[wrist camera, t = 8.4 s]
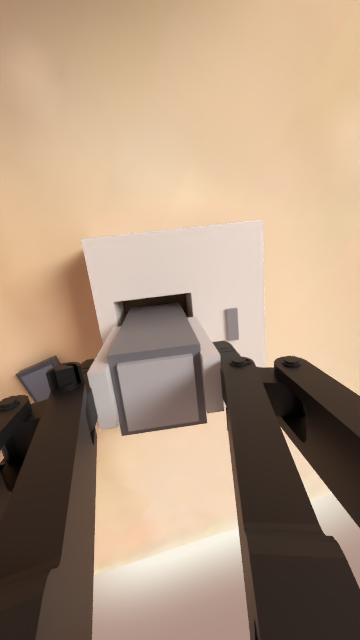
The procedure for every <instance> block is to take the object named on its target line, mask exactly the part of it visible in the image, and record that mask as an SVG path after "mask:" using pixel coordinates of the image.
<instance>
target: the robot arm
mask: <svg viewBox="0 0 360 640" xmlns="http://www.w3.org/2000/svg"><path fill="white" fill-rule="evenodd" d="M187 319H188V321H189V323H190V325H191V327H192V329H193V331H194V333H195V335H196V337H197V339H198V341H199V343H200V348H201V351H200V358H201V369H202V379H203V390H204V400H205V407H206V410H207V413H213V412H220V411H224V403H225V405H226V416H227V430H228V434H229V443H230V453H231V462H232V471H233V480H234V489H235V499H236V508H237V517H238V526H239V536H240V545H241V554H242V563H243V572H244V582H245V591H246V600H247V609H248V618H249V629H250V639H251V640H360V589H359V586H358V584H357V582H356V580H355V577H354V575H353V573H352V571H351V568H350V566H349V564H348V561H347V560H346V557H345V555H344V553H343V551H342V550H341V548H340V546H339V544H338V542H337V541H336V540H335V539H334V537H333V536H326V535H325V534H324V533H323V531H322V529H321V527H320V525H319V523H318V520H317V518H316V515H315V513H314V510H313V508H312V505H311V503H310V500H309V498H308V495H307V493H306V490H305V488H304V485H303V483H302V480H301V478H300V475H299V473H298V470H297V468H296V465H295V463H294V460H293V458H292V455H291V453H290V450H289V448H288V445H287V443H286V440H285V438H284V435H283V433H282V430H281V428H282V429H283V430H284V432H285V433H286V434H287V435H288V437H289V438H290V439H291V441H292V442H293V443H294V444H295V446H296V447H297V448H298V450H299V451H300V452H301V453H302V455H303V456H304V457H305V459H306V460H307V461H308V462H309V464H310V465H311V466H312V468H313V469H314V470H315V471H316V473H317V474H318V475H319V477H320V478H321V479H322V480H323V482H324V483H325V484H326V485H327V487H328V488H329V489H330V491H331V492H332V493H333V494H334V496H335V497H336V498H337V500H338V501H339V502H340V503H341V505H342V506H343V507H344V509H345V510H346V511H347V512H348V514H349V515H350V516H351V518H352V519H353V520H354V521H355V523H356V524H357V525H358V526H359V527H360V396H359V395H357V394H356V393H354V392H353V391H351V390H350V389H348V388H347V387H345V386H344V385H342V384H341V383H339V382H338V381H336V380H335V379H333V378H332V377H330V376H329V375H327V374H326V373H324V372H323V371H321V370H320V369H318V368H317V367H315V366H314V365H312V364H311V363H309V362H308V361H306V360H304V359H302V358H298V357H295V356H292V357H291V356H287V357H280V358H277V359H276V360H275V361H274V368H264V367H256V365H255V363H254V361H253V360H252V359H250V358H247V357H241V356H240V354H239V353H238V352H237V351H236V350H235V348H233V346H232V345H231V344H230V343H229V342H226V341H217V342H212V341H211V339H210V338H209V336H208V335H207V333H206V331H205V330H204V328H203V327H202V325H201V324H200V322H199V320H198V319H197V317H188V318H187ZM120 328H121V326H118V327H113V328H112V330H111V332H110V334H109V335H108V337H107V339H106V341H105V342H104V344H103V346H102V348H101V349H100V351H99V353H98V355H97V356H96V358H95V359H90V360H86V361H84V362H83V363H82V364H80V363H77V362H69V363H64V364H60V365H57V366H55V367H53V368H51V369H49V370H48V371H47V372H46V376H47V380H48V383H49V387H50V391H51V392H50V394H49V397H48V399H46V400H43V401H39V402H36V403H33V404H30V401H29V398H28V396H25V395H18V396H11V397H9V398H5V399H3V400H2V401H0V450H2V453H3V456H4V459H3V460H2V461H1V463H0V640H92V612H93V574H94V535H95V496H96V457H97V434H96V429H95V424H96V422H97V420H98V424H99V428H100V430H103V429H109V428H116V427H118V422H119V415H118V410H117V405H116V400H115V395H114V389H113V384H112V379H111V374H110V369H109V364H108V360H107V354H108V352H109V350H110V348H111V346H112V344H113V342H114V340H115V338H116V336H117V334H118V332H119V330H120ZM223 400H224V402H223ZM280 427H281V428H280Z"/></svg>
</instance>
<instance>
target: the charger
mask: <svg viewBox="0 0 360 640" xmlns="http://www.w3.org/2000/svg"><path fill="white" fill-rule="evenodd" d="M200 351H201V348H200V343H199V341H198V339H197V337H196V335H195V333H194V331H193V329H192V327H191V325H190V323H189V321H188V319H187V317H186V315H185V313H184V311H183V309H182V307H181V305H180V303H171V304H162V305H154V306H145V307H137V308H130V310H129V312H128V314H127V316H126V318H125V320H124V322H123V324H122V326H121V328H120V330H119V332H118V334H117V336H116V338H115V340H114V342H113V344H112V346H111V348H110V350H109V352H108V354H107V360H108V364H109V369H110V374H111V379H112V384H113V389H114V395H115V400H116V405H117V410H118V415H119V423H120V428H121V433H122V436H125V435H131V434H138V433H144V432H151V431H158V430H164V429H171V428H177V427H184V426H191V425H197V424H204V423H207V417H206V407H205V400H204V390H203V379H202V369H201V358H200Z"/></svg>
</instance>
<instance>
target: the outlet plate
mask: <svg viewBox="0 0 360 640" xmlns="http://www.w3.org/2000/svg"><path fill="white" fill-rule="evenodd" d="M81 241H82V246H83V251H84V256H85V261H86V266H87V270H88V275H89V280H90V285H91V290H92V295H93V300H94V305H95V310H96V315H97V319H98V324H99V329H100V334H101V339H102V344H104V342H105V341H106V339H107V337H108V335H109V334H110V332H111V330H112V328H113V327H118V326H122V324H123V322H124V320H125V312H124V306H123V301H126V300H134V299H142V298H150V297H159V296H167V295H175V294H183V293H186V303H187V312H188V317H197V319H198V320H199V322H200V324H201V325H202V327H203V328H204V330H205V331H206V333H207V335H208V336H209V338H210V339H211V341H212V342H217V341H226V342H229V343H230V344H231V345H232V346H233V348H235V350H236V351H237V352H238V353H239V354H240V356H241V357H247V358H250V359H252V360H253V361H254V363H255V365H256V367H264V368H266V352H265V293H264V234H263V219H262V220H253V221H243V222H234V223H225V224H215V225H206V226H196V227H187V228H178V229H168V230H159V231H150V232H140V233H131V234H121V235H112V236H103V237H93V238H84V239H81ZM223 402H224V400H223ZM224 408H226V405H225V403H224ZM206 411H207V410H206ZM119 424H120V423H119Z"/></svg>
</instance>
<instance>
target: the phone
mask: <svg viewBox="0 0 360 640" xmlns="http://www.w3.org/2000/svg"><path fill="white" fill-rule="evenodd" d="M60 364H61V363H60V362H59V360H58V358H57V357H56V356H53V357H51V358H49V359H47V360H44V361H42V362H40V363H37V364H35V365H33V366H31V367H28V368H26V369H24V370H21V371H20V372H18V373H17V374H16V376H17V377H18V379H19V380H20V381H21V383H22V384H23V386H24V387H25V389H26V390H27V391H28V393H29V394H30V396H31V397H32V399H33V400H34V401H35V403H36V402H39V401H43V400H46V399H48V397H49V394H50V392H51V391H50V387H49V383H48V380H47V376H46V372H47V371H48V370H49V369H51V368H53V367H55V366H57V365H60Z"/></svg>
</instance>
